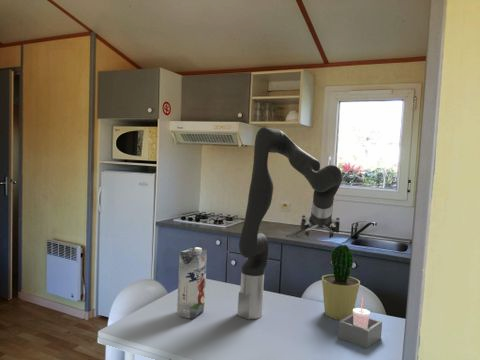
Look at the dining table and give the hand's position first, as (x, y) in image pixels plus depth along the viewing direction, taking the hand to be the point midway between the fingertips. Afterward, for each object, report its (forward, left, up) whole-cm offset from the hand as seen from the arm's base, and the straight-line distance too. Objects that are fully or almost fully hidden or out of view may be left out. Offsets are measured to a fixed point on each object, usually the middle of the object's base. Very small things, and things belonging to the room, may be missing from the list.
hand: (318, 235), depth 154 cm
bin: (+1, -19, -35) cm, 39 cm away
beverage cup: (+1, -19, -34) cm, 39 cm away
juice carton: (-31, +37, -35) cm, 60 cm away
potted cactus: (+15, -3, -35) cm, 38 cm away
